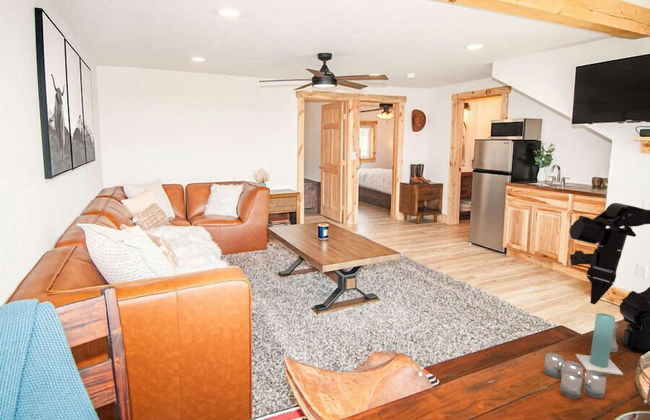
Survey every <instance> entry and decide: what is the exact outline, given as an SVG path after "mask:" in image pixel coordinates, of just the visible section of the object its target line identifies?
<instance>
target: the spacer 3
mask: <svg viewBox="0 0 650 420" xmlns="http://www.w3.org/2000/svg"><path fill="white" fill-rule="evenodd" d="M584 375H585V376H584V383H583V389H582V390H583V393H584V394H585V395H587V396H589V397H591V398H595V399H603V398H604V397H605V391H606V384H607V376H606V375H605V373H600V372H597V371H592V370H588V371H587V370H586V371H585V374H584Z"/></svg>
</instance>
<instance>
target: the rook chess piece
mask: <svg viewBox="0 0 650 420" xmlns="http://www.w3.org/2000/svg"><path fill="white" fill-rule="evenodd" d="M618 329H619V326H618V323H617V322H616V321H615V324H614V330H613V337H612V343H611V350H610V353H612V354H613V353H617V352H618V351H619V345H618V342H617V338H616V336H617V333H618V331H617V330H618Z"/></svg>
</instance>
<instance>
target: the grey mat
mask: <svg viewBox="0 0 650 420" xmlns="http://www.w3.org/2000/svg"><path fill="white" fill-rule="evenodd" d="M575 357H576V358H577V359H578V360H579V362H580V364H581V365H582V366H583V368H584V369H585V370H586V371H588V370H592V371H597V372H600V373H602V374H607V375H608V374H610V375H616V376H624V373H623V372H622V371H621V370H620V369H619V368H618V367H617V366H616V364H615V363H614V362H613V361H612V360H611V358H609V363H608V367H606V368H603V367H598V366H595V365H593V364H591V363H590V355H585V354H578V353H576V354H575Z"/></svg>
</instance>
